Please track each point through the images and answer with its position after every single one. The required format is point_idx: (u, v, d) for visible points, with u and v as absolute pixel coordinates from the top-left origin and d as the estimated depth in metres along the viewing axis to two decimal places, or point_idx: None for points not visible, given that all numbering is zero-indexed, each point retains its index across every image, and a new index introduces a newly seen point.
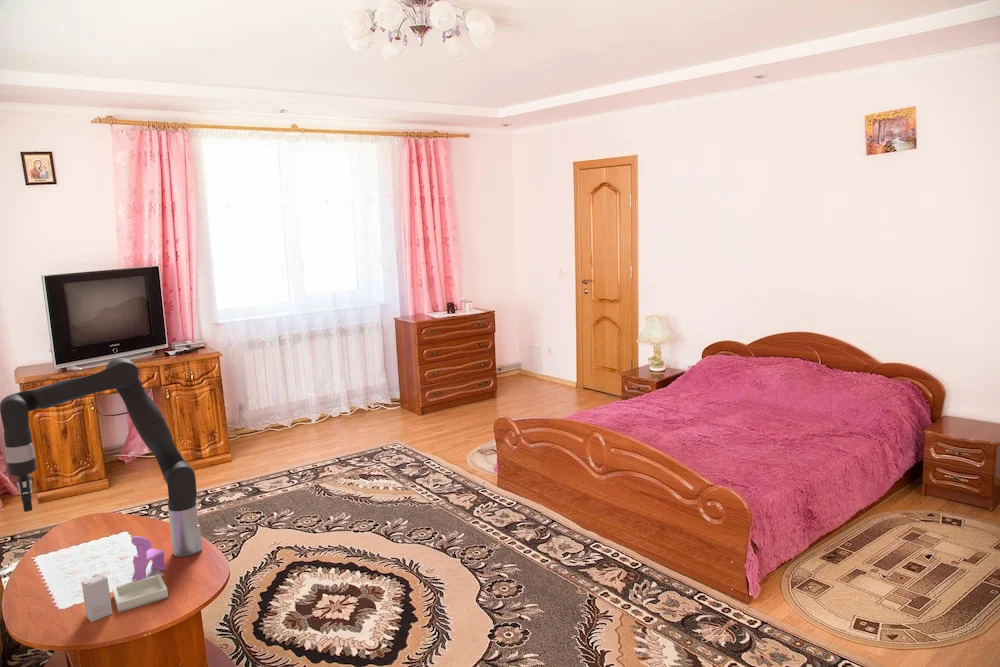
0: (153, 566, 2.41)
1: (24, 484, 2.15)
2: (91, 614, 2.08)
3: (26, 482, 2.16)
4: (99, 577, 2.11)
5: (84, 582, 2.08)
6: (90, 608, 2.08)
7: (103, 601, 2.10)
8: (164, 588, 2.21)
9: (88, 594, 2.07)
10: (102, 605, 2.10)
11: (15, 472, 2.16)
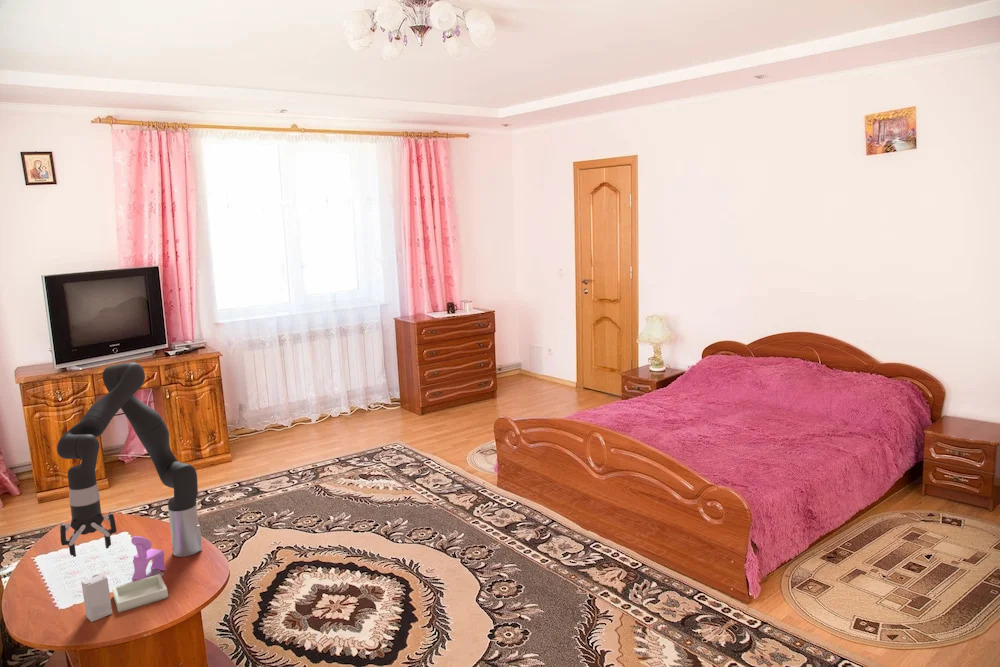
0: (153, 566, 2.41)
1: None
2: (91, 614, 2.08)
3: (112, 513, 2.11)
4: (99, 577, 2.11)
5: (84, 582, 2.08)
6: (90, 608, 2.08)
7: (103, 601, 2.10)
8: (164, 588, 2.21)
9: (88, 594, 2.07)
10: (102, 605, 2.10)
11: (99, 509, 2.07)
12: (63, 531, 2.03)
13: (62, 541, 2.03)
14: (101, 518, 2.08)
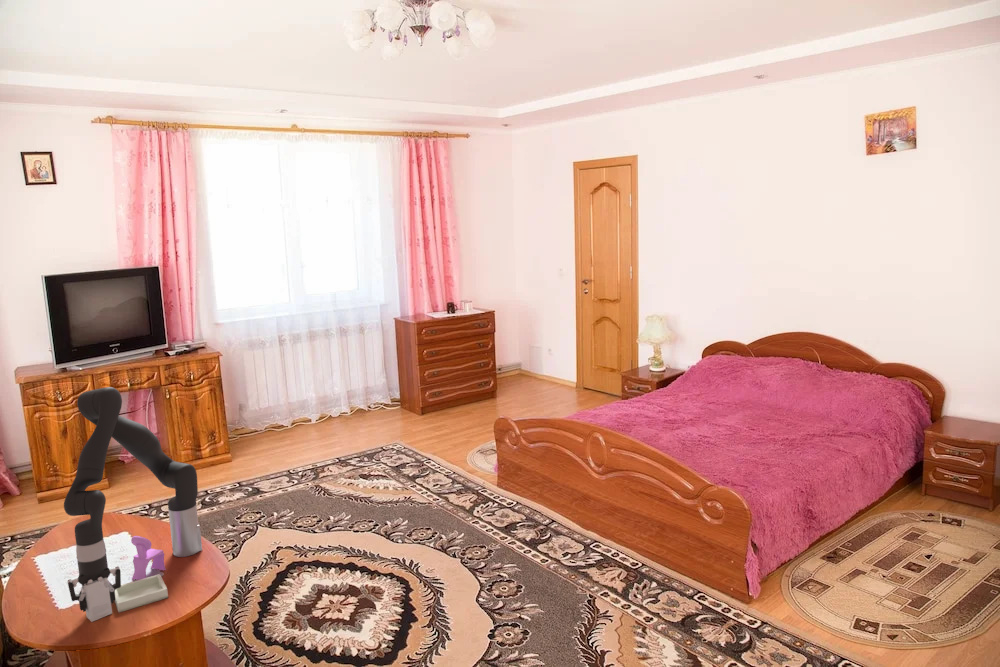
0: (153, 566, 2.41)
1: (119, 570, 2.14)
2: (91, 614, 2.08)
3: (119, 568, 2.14)
4: None
5: None
6: (90, 608, 2.08)
7: (103, 601, 2.10)
8: (164, 588, 2.21)
9: (88, 594, 2.07)
10: (102, 605, 2.10)
11: (106, 564, 2.10)
12: (71, 588, 2.05)
13: (72, 597, 2.06)
14: (108, 572, 2.11)
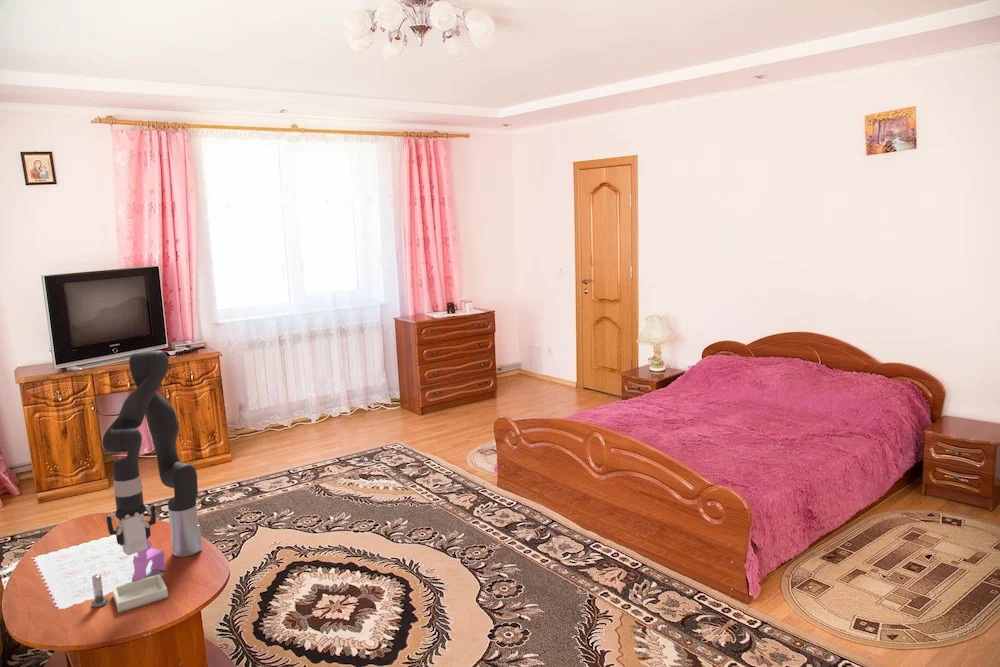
0: (153, 566, 2.41)
1: (154, 507, 2.22)
2: (128, 548, 2.16)
3: None
4: None
5: None
6: (127, 542, 2.16)
7: (139, 536, 2.18)
8: (164, 588, 2.21)
9: (125, 528, 2.15)
10: (138, 540, 2.18)
11: (142, 500, 2.18)
12: (109, 522, 2.14)
13: (110, 531, 2.14)
14: (143, 508, 2.19)
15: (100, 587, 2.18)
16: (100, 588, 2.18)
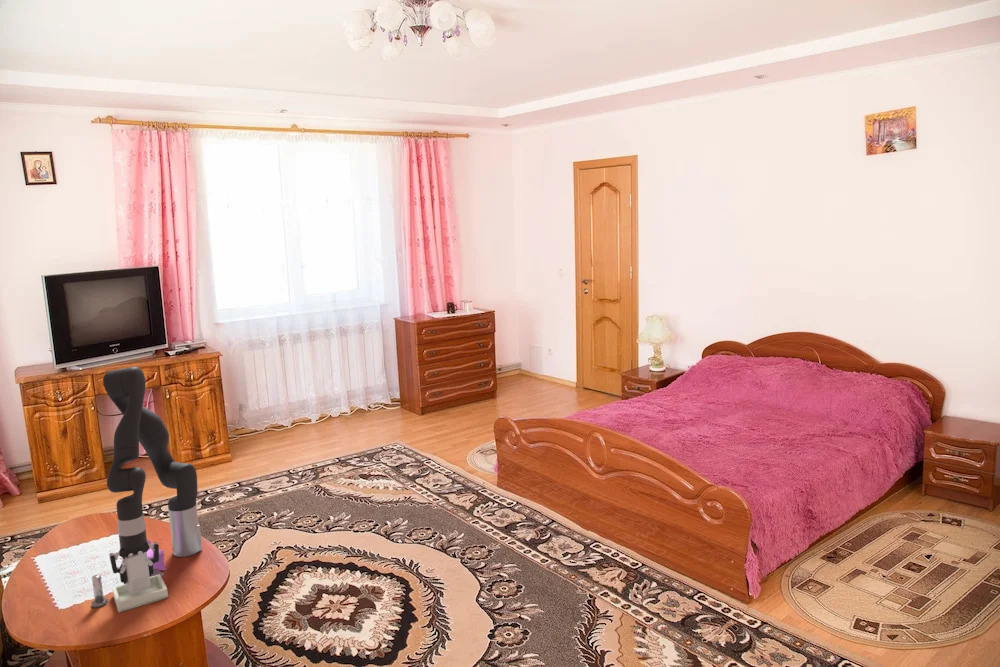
0: (153, 566, 2.41)
1: (158, 545, 2.24)
2: (131, 586, 2.18)
3: (157, 543, 2.24)
4: None
5: None
6: (130, 580, 2.18)
7: (142, 574, 2.20)
8: (164, 588, 2.21)
9: (129, 567, 2.17)
10: (141, 578, 2.20)
11: (145, 538, 2.20)
12: (113, 560, 2.16)
13: (113, 570, 2.16)
14: (147, 546, 2.21)
15: (100, 587, 2.18)
16: (100, 588, 2.18)
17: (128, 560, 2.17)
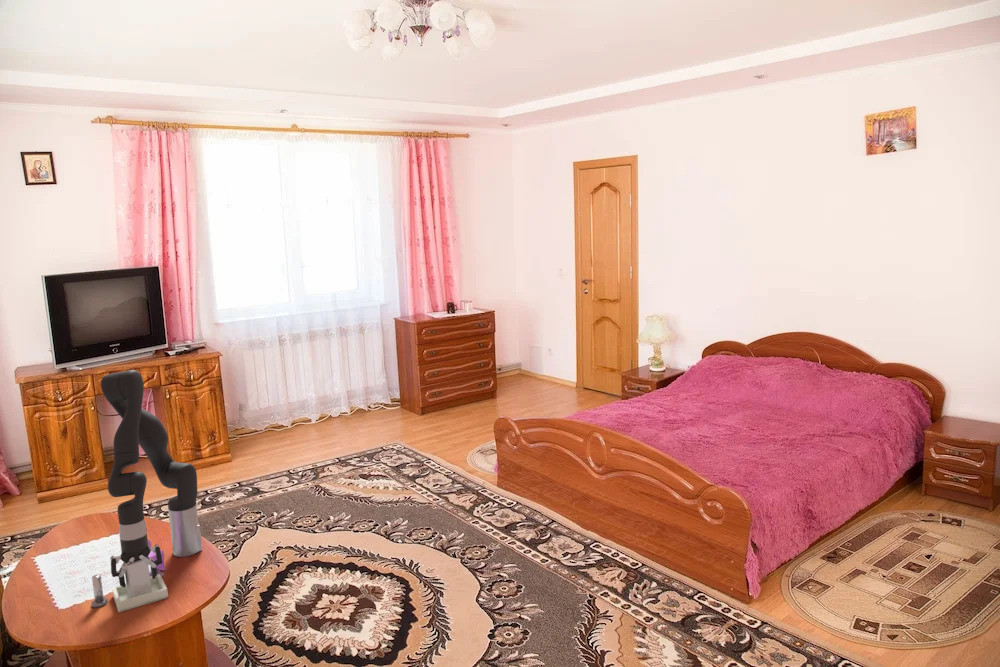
0: None
1: None
2: (132, 593, 2.19)
3: (158, 545, 2.24)
4: None
5: None
6: (131, 587, 2.18)
7: (143, 581, 2.21)
8: (164, 588, 2.21)
9: (129, 574, 2.17)
10: (142, 584, 2.21)
11: (147, 542, 2.20)
12: (114, 564, 2.16)
13: (113, 573, 2.16)
14: (148, 550, 2.21)
15: (100, 587, 2.18)
16: (100, 588, 2.18)
17: (129, 567, 2.17)
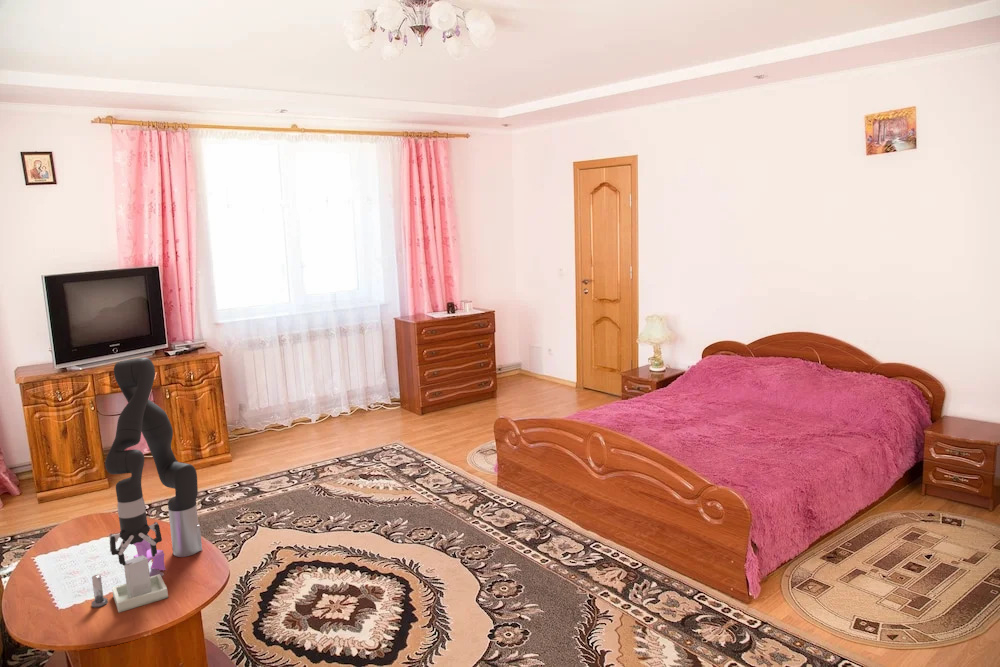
0: (153, 566, 2.41)
1: (158, 525, 2.23)
2: (132, 593, 2.19)
3: (157, 523, 2.23)
4: (140, 557, 2.21)
5: (126, 562, 2.19)
6: (131, 587, 2.18)
7: (143, 580, 2.21)
8: (164, 588, 2.21)
9: (129, 573, 2.17)
10: (142, 584, 2.21)
11: (146, 520, 2.19)
12: (113, 542, 2.14)
13: (112, 551, 2.14)
14: (147, 528, 2.20)
15: (100, 587, 2.18)
16: (100, 588, 2.18)
17: (129, 567, 2.17)
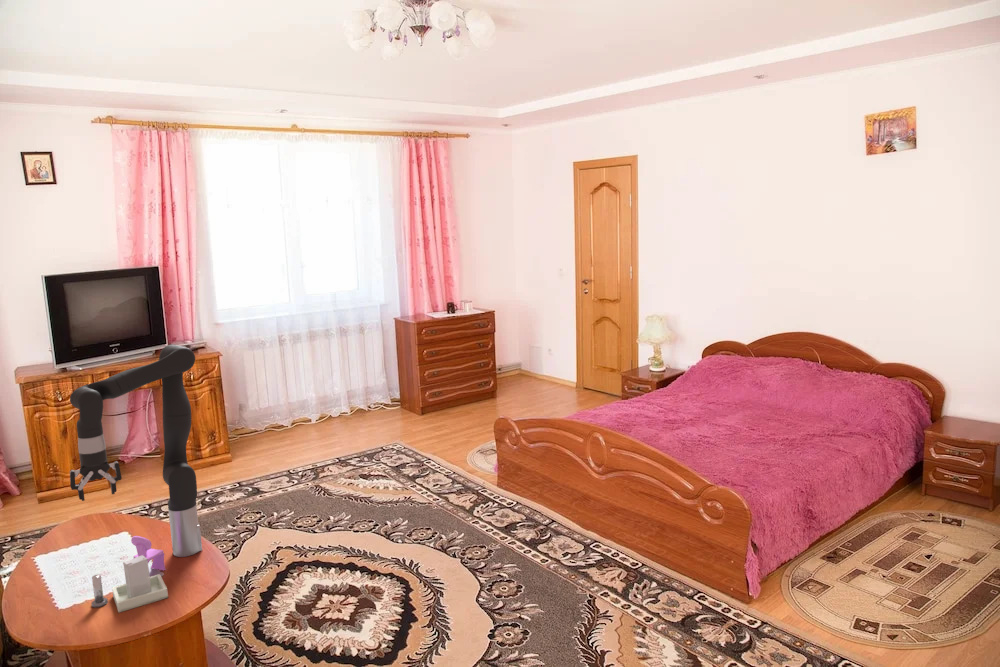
0: (153, 566, 2.41)
1: (118, 464, 2.29)
2: (132, 593, 2.19)
3: (117, 462, 2.29)
4: (139, 558, 2.21)
5: (125, 562, 2.19)
6: (131, 587, 2.18)
7: (143, 581, 2.21)
8: (164, 588, 2.21)
9: (129, 574, 2.17)
10: (142, 584, 2.21)
11: (105, 458, 2.25)
12: (73, 477, 2.21)
13: (72, 486, 2.21)
14: (107, 466, 2.26)
15: (100, 587, 2.18)
16: (100, 588, 2.18)
17: (128, 567, 2.17)
